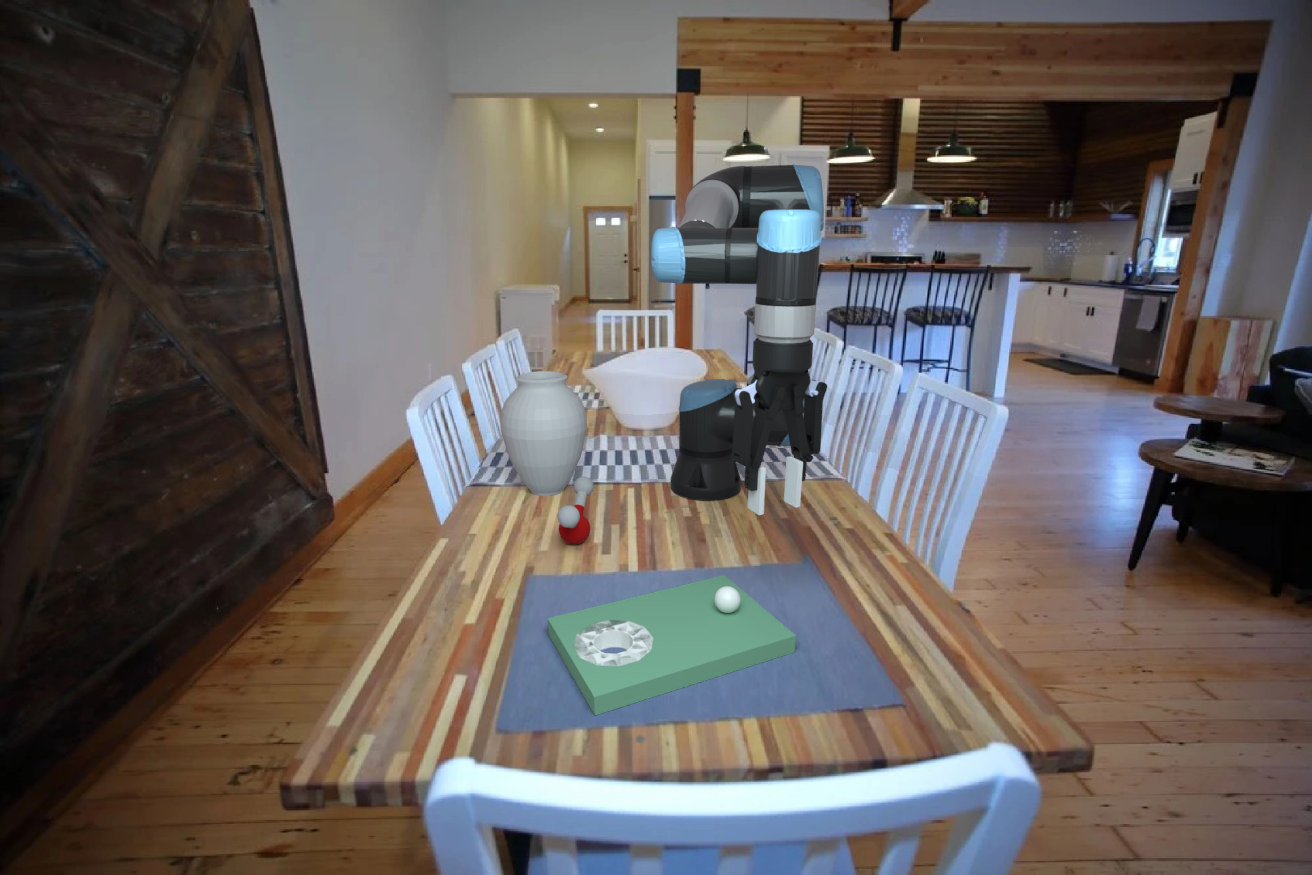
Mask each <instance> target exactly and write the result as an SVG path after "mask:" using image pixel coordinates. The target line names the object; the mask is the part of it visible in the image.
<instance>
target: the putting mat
mask: <svg viewBox="0 0 1312 875" xmlns="http://www.w3.org/2000/svg"><path fill="white" fill-rule="evenodd" d="M724 586H730V587H733V588H734V589H736V590H737V591H738V593H739V595H740V599H741V601H740V605H739V607H738V608H737V610H735V611H734V612H731V613H724V612H722V611H720V610H719V609H718V608H717V607H716V605H715V601H714V598H715V594H716V592H717V591H718V590H719V589H720V588H722V587H724ZM547 629H548V632H547V633H548V634H547V635H548V636H549V638H550V640H551V641H552V643H553V645H554V647H555V648H556V650H557V653H559V656H560V657H561V659H562V660H563V662H564V664H565V666H566V667H567V669H568V671H569V673H570V675H571V676H572V678H573V680H574V682H575V683H576V685H577V687H578V689H579V690H580V692H581V694H582V696H583V697H584V699H585V701H586V703H587V705H588V706H589V708H590V710H591V712H592V713H593V715H594V716H598V715H601V714H604V713H608V712H610V711H613V710H617V709H620V708H623V707H626V706H630V705H632V704H633V705H634V704H636V703H639V702H642V701H646V700H648V699H651V698H655V697H658V696H661V695H664V694H667V693H670V692H673V691H678V690H680V689H684V688H686V687H690V686H693V685H696V684H699V683H702V682H705V681H708V680H712V679H714V678H718V677H720V676H724V675H728V674H730V673H734V672H736V671H739V670H743V669H747V668H749V667H753V666H756V665H759V664H762V663H765V662H768V661H771V660H775V659H778V658H781V657H784V656H787V655H788V656H789V655H791V654H794V653H796V644H797V643H796V642H797V641H796V640H797V635H796V634H795V633H794V632H792V631H791V630H790V629H789V628H788V627H786V625H784V624H783V623H782V622H781V621H779V620H778V619H777V618H776V617H775V616H773V614H772V613H770V612H768V611H767V610H766V609H765V608H764V607H762V605H761V604H759V603H758V602H757V601H756V600H754V598H752V597H751V596H750V595H748V593H747V592H745V591H744V590H743V589H741V587H739V586H738V585H737V584H735V582H733V581H732V580H731V579H730V578H728V576H726V575H725V574H723V575H718V576H715V577H711V578H706V579H702V580H697V581H694V582H691V583H686V584H683V585H682V584H681V585H679V586H678V585H677V586H675V587H670V588H666V589H663V590H658V591H654V592H650V593H645V594H641V595H638V596H634V597H629V598H624V599H621V600H617V601H613V602H610V603H604V604H601V605H597V606H591V607H588V608H585V609H580V610H576V611H573V612H567V613H564V614H560V615H555V616H551V617H548V618H547ZM609 648H610V649H611V648H622V649H623V650H625V651H621V652H618V653H611V652H610V653H609V652H607V653H606V652H603V651H604V650H605V649H609Z"/></svg>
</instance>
